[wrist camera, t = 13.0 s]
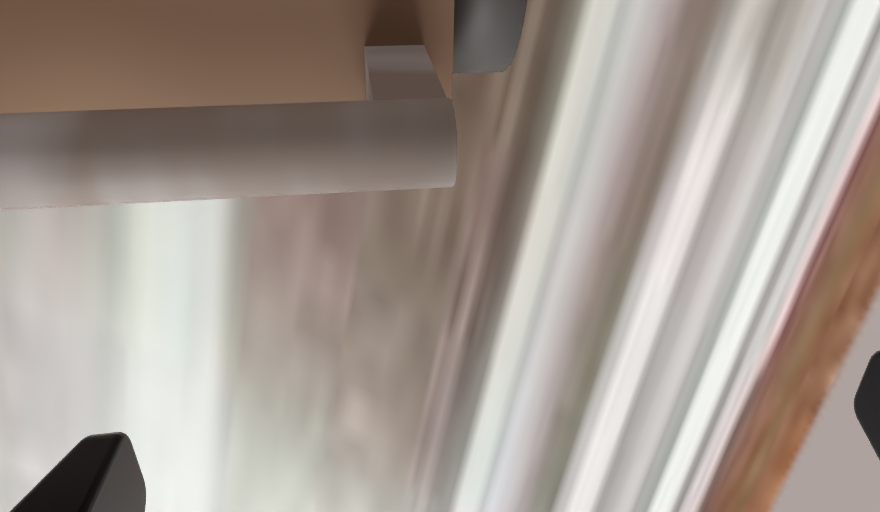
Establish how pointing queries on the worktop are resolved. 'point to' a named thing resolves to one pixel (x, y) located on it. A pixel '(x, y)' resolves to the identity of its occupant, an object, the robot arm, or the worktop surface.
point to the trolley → (235, 96)
